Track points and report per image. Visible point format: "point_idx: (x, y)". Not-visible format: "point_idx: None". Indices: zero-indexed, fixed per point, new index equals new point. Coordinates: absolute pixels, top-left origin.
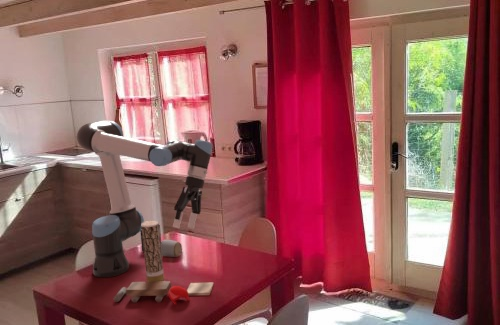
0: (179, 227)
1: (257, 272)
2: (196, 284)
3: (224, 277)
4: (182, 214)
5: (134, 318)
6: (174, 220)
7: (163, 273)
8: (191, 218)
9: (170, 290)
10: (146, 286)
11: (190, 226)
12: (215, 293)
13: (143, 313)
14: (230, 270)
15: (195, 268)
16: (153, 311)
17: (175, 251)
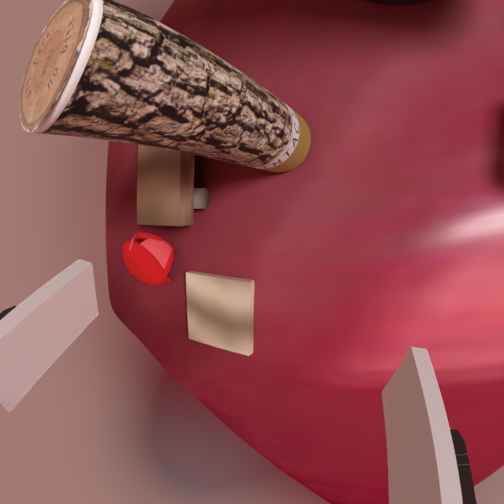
0: (92, 318)
1: (324, 468)
2: (237, 303)
3: (305, 389)
4: (17, 393)
5: (111, 169)
6: (39, 292)
7: (274, 167)
8: (415, 453)
9: (125, 242)
10: (152, 155)
11: (397, 385)
12: (202, 352)
13: (123, 180)
14: (361, 411)
15: (415, 283)
16: (129, 201)
17: None
